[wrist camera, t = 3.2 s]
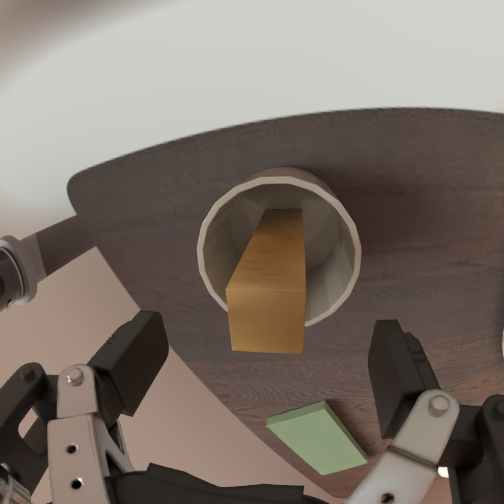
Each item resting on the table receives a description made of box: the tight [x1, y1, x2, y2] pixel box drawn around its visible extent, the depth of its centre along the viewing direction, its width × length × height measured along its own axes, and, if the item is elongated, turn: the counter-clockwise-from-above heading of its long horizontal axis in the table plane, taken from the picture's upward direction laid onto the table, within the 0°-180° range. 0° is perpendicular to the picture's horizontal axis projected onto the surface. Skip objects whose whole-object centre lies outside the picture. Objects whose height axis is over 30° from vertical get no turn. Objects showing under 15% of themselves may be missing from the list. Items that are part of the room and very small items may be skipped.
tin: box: [197, 167, 362, 327], centre depth 21 cm, size 10×10×8 cm
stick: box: [226, 209, 306, 353], centre depth 18 cm, size 3×3×14 cm
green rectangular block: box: [267, 400, 368, 475], centre depth 34 cm, size 18×8×2 cm, turn 33°
